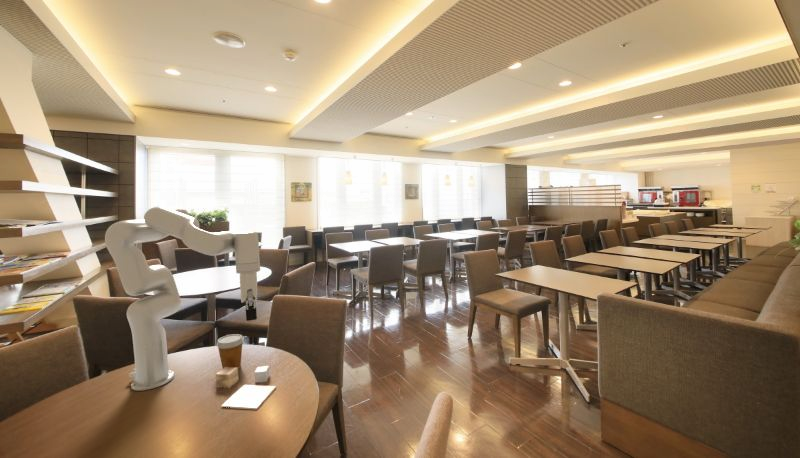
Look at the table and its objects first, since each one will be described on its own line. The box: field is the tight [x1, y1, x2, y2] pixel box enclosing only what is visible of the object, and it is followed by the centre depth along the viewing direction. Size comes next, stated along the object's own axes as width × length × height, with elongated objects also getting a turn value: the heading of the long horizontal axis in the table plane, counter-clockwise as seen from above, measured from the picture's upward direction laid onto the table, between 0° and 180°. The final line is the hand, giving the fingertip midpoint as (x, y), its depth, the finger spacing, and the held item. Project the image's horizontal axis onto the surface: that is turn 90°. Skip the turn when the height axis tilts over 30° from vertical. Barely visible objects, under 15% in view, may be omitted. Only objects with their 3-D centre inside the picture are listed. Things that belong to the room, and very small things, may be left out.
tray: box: [221, 384, 277, 410], centre depth 108 cm, size 12×12×1 cm
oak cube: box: [215, 367, 239, 389], centre depth 116 cm, size 5×5×5 cm
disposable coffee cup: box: [216, 333, 245, 369], centre depth 127 cm, size 10×10×12 cm
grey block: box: [254, 365, 270, 383], centre depth 119 cm, size 4×4×4 cm
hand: (251, 315), depth 112 cm, fingers open, 9 cm apart
